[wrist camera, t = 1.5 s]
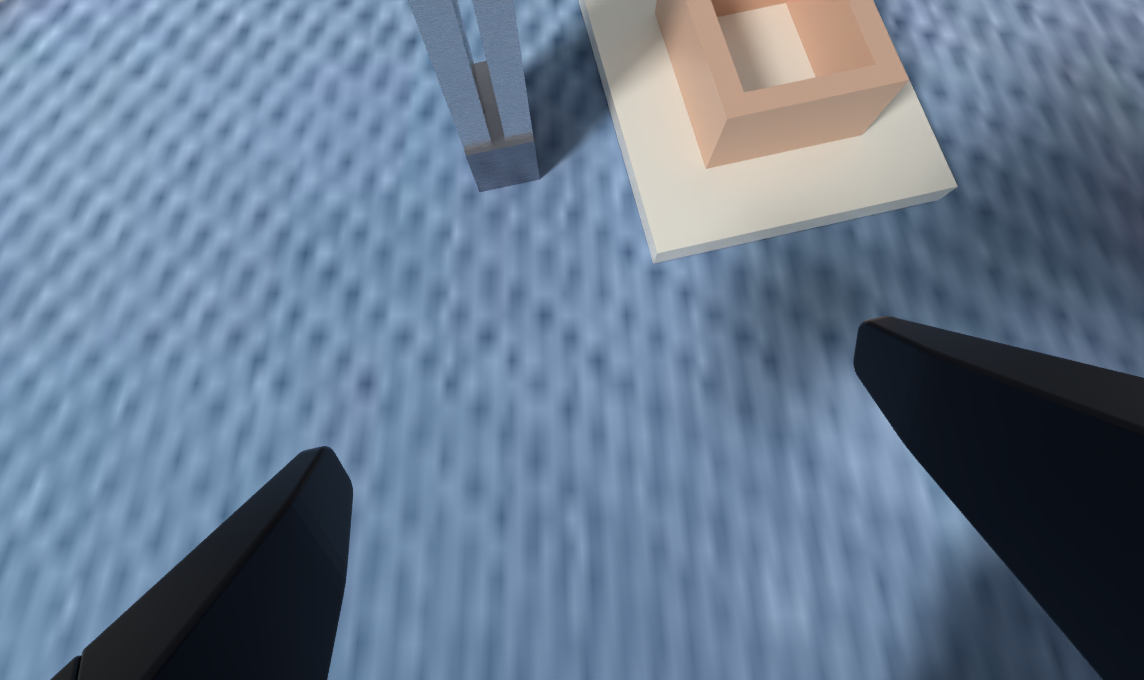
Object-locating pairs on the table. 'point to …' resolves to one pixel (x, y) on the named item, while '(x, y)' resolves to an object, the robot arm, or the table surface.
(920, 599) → the table surface
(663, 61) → the holder
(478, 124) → the slotted copper-topped post
